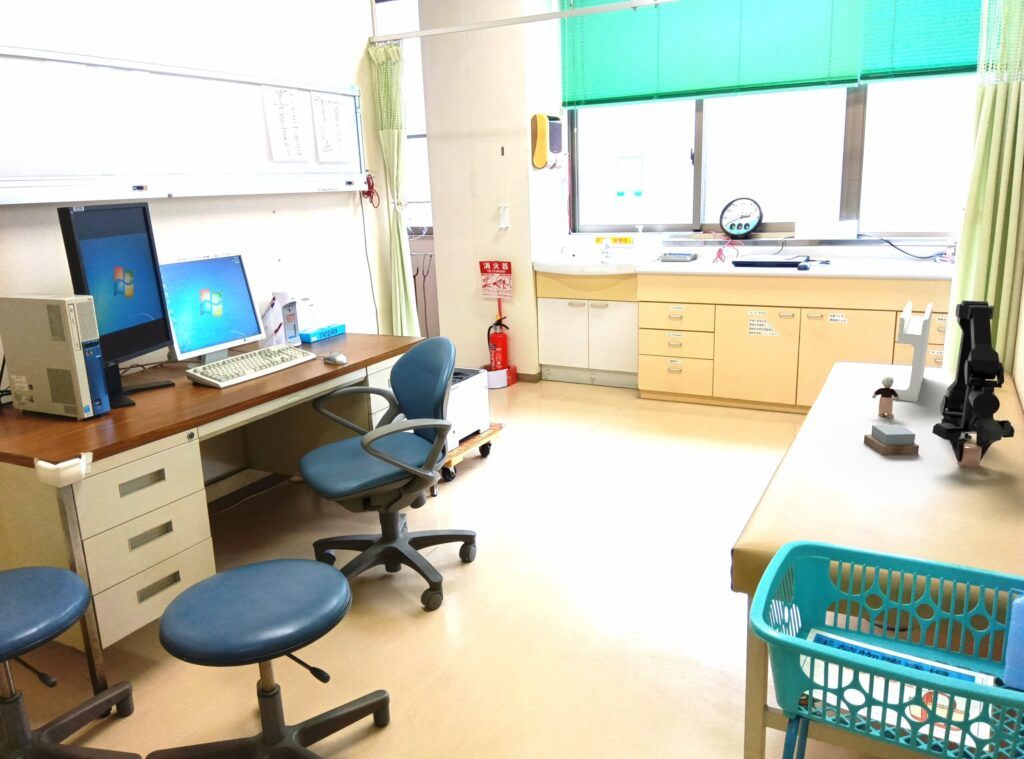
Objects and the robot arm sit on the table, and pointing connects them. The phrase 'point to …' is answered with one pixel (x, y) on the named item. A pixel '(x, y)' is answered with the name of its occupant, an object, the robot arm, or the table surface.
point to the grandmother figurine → (886, 397)
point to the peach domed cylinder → (971, 456)
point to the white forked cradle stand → (916, 335)
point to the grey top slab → (893, 434)
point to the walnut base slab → (890, 447)
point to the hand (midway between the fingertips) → (968, 461)
